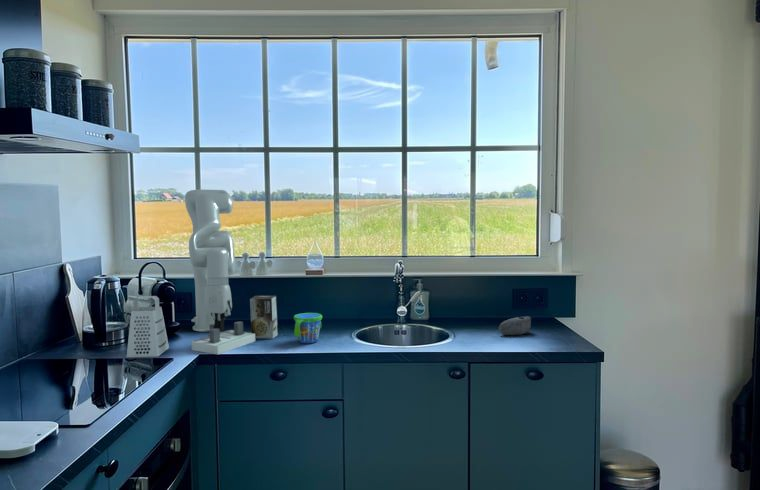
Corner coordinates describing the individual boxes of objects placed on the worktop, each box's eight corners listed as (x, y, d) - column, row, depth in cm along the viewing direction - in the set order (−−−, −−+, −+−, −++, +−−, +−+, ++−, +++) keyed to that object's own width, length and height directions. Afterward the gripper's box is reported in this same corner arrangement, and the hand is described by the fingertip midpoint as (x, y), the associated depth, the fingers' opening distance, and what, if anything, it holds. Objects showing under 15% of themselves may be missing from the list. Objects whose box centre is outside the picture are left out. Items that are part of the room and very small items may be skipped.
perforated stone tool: (502, 337, 187) (502, 320, 186) (495, 334, 192) (495, 317, 192) (535, 334, 191) (535, 317, 191) (527, 331, 196) (528, 315, 196)
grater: (157, 356, 165) (155, 299, 164) (126, 357, 165) (123, 300, 163) (169, 347, 176) (167, 294, 174) (139, 348, 175) (137, 294, 174)
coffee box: (278, 334, 193) (277, 295, 192) (273, 339, 187) (272, 298, 186) (256, 334, 194) (255, 295, 193) (250, 338, 188) (249, 298, 187)
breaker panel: (191, 349, 173) (191, 341, 173) (230, 337, 190) (230, 329, 190) (217, 354, 167) (217, 345, 167) (255, 341, 184) (255, 333, 184)
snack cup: (310, 335, 193) (310, 310, 192) (331, 338, 187) (331, 312, 187) (284, 344, 179) (283, 317, 179) (306, 348, 174) (305, 320, 173)
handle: (208, 342, 171) (208, 329, 171) (215, 339, 174) (214, 327, 174) (214, 343, 170) (214, 330, 170) (221, 340, 173) (220, 328, 173)
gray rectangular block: (232, 334, 182) (232, 322, 182) (238, 332, 185) (238, 321, 185) (238, 335, 181) (238, 323, 180) (244, 333, 184) (244, 321, 183)
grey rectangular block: (208, 336, 180) (207, 324, 179) (214, 334, 183) (214, 322, 182) (214, 336, 178) (213, 325, 178) (220, 334, 181) (220, 323, 181)
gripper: (195, 282, 178) (197, 330, 179) (225, 284, 171) (227, 334, 172) (210, 279, 184) (212, 326, 185) (240, 281, 178) (241, 330, 179)
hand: (219, 330), depth 179 cm, fingers closed
